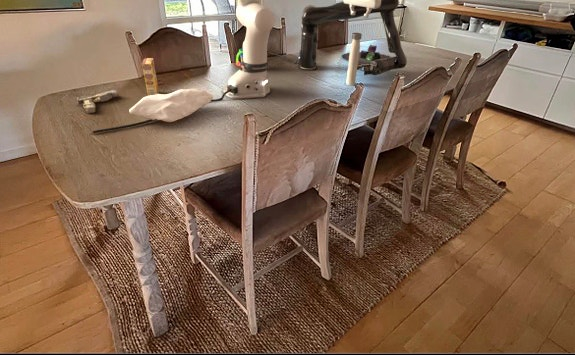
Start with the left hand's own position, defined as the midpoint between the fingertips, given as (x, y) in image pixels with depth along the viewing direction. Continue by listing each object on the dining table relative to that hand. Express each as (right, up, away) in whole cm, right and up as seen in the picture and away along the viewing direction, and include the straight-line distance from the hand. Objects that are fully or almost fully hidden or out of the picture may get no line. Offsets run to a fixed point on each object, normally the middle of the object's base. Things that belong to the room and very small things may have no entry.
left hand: (359, 16), depth 173 cm
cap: (0, -7, +4) cm, 8 cm away
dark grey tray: (+18, 0, +62) cm, 64 cm away
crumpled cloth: (-82, -51, -23) cm, 99 cm away
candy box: (-96, -39, -6) cm, 104 cm away
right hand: (+3, -21, +17) cm, 27 cm away
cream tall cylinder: (-1, -28, +18) cm, 33 cm away
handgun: (-114, -45, -17) cm, 124 cm away
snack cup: (-56, -14, +35) cm, 68 cm away
